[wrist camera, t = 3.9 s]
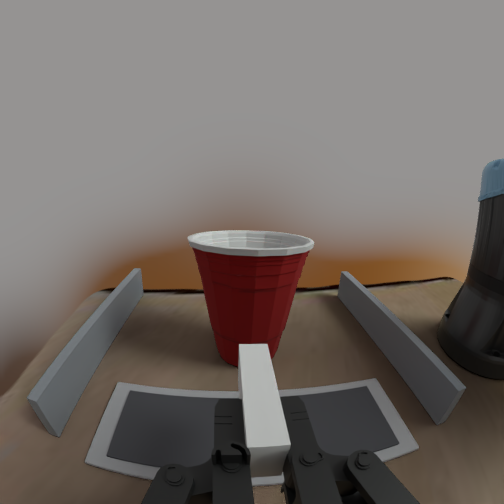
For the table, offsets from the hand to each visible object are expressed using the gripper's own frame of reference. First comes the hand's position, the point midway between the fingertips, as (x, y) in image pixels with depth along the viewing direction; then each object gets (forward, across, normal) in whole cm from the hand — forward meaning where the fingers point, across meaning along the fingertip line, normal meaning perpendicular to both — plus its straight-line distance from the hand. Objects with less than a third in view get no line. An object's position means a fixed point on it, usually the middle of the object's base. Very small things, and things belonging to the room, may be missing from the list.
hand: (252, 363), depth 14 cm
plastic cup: (+11, +1, -7) cm, 13 cm away
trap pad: (0, +1, -7) cm, 7 cm away
